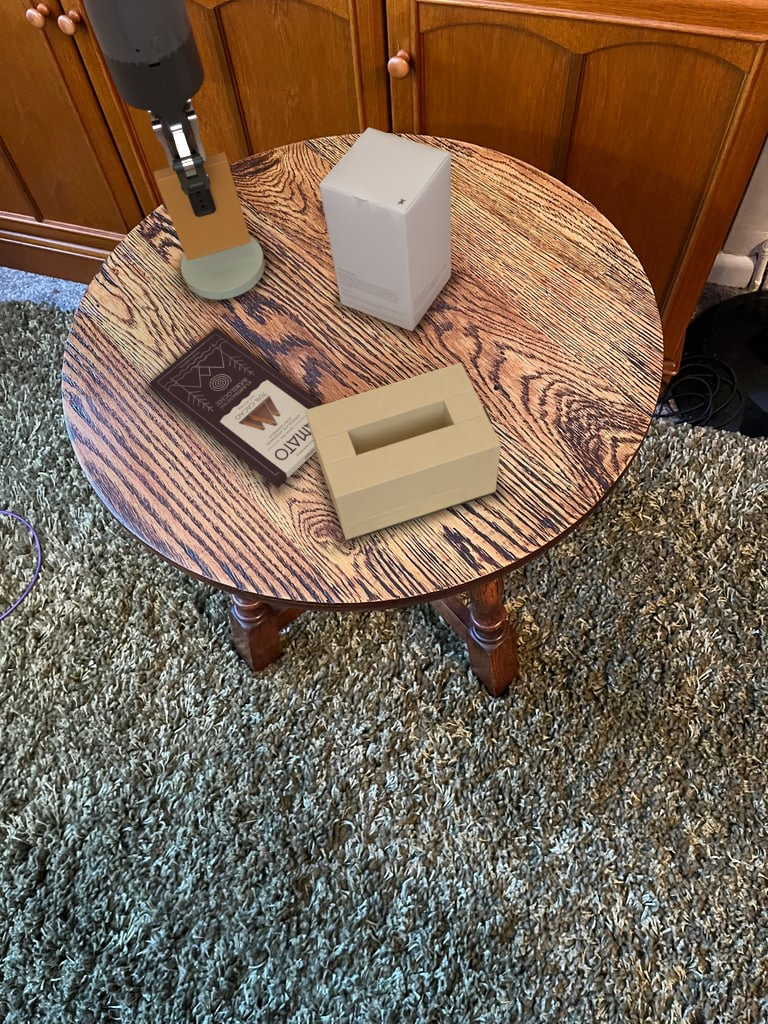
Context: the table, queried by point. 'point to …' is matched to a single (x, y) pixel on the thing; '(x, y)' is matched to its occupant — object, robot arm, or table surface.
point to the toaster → (405, 450)
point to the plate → (225, 271)
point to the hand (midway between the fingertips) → (203, 206)
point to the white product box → (389, 226)
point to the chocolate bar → (242, 405)
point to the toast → (211, 229)
